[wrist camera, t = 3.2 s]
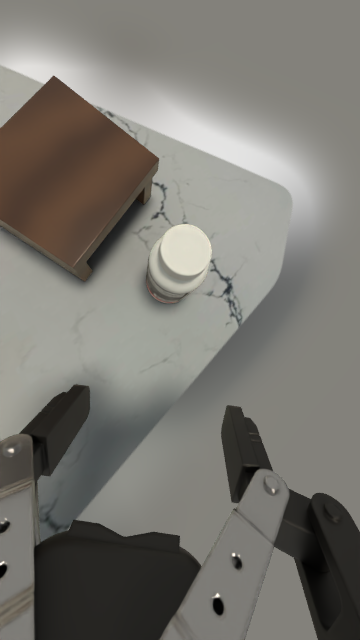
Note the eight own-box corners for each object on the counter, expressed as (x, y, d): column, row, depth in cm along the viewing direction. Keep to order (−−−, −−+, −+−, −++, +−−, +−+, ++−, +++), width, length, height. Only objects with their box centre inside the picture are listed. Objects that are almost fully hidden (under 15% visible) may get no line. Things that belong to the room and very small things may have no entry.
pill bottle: (171, 251, 25) (192, 201, 16) (198, 286, 26) (235, 258, 16) (135, 277, 24) (135, 240, 15) (164, 313, 25) (182, 300, 15)
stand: (154, 199, 25) (159, 158, 20) (88, 284, 23) (72, 268, 17) (73, 138, 24) (53, 74, 18) (-4, 223, 22) (-56, 182, 16)
